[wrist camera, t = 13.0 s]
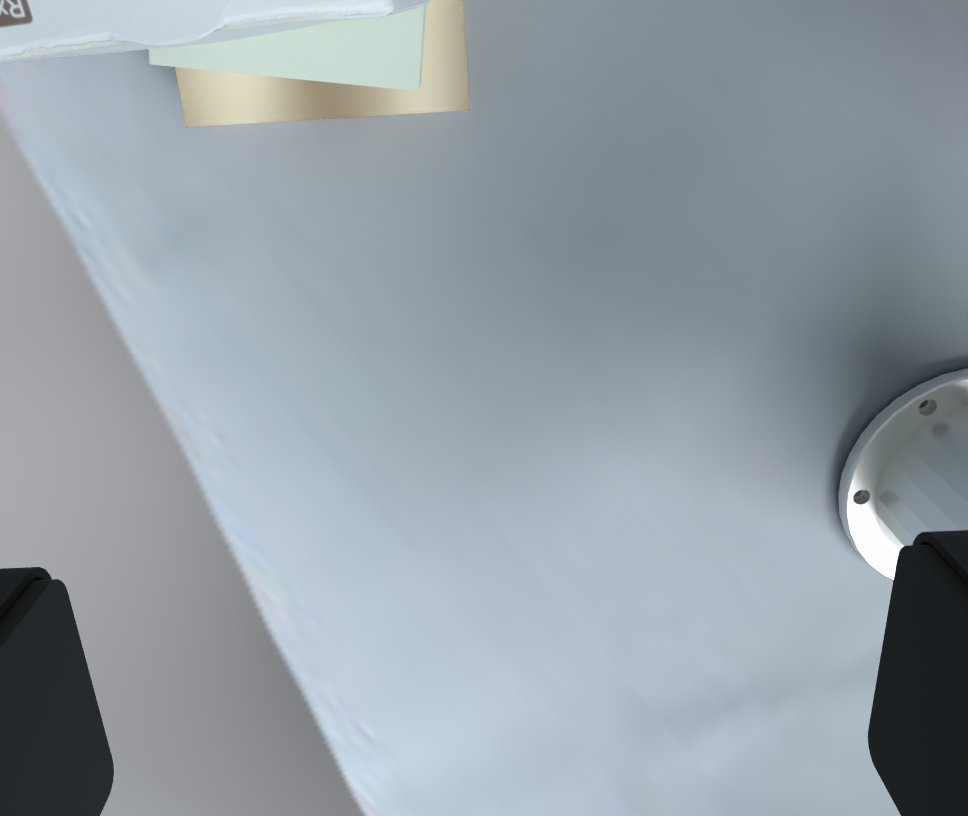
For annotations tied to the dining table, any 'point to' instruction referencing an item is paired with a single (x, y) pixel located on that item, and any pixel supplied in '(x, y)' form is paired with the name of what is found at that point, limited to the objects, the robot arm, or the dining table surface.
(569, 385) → the dining table surface
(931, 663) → the robot arm
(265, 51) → the tower top block
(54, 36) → the skincare box
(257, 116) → the tower base block
